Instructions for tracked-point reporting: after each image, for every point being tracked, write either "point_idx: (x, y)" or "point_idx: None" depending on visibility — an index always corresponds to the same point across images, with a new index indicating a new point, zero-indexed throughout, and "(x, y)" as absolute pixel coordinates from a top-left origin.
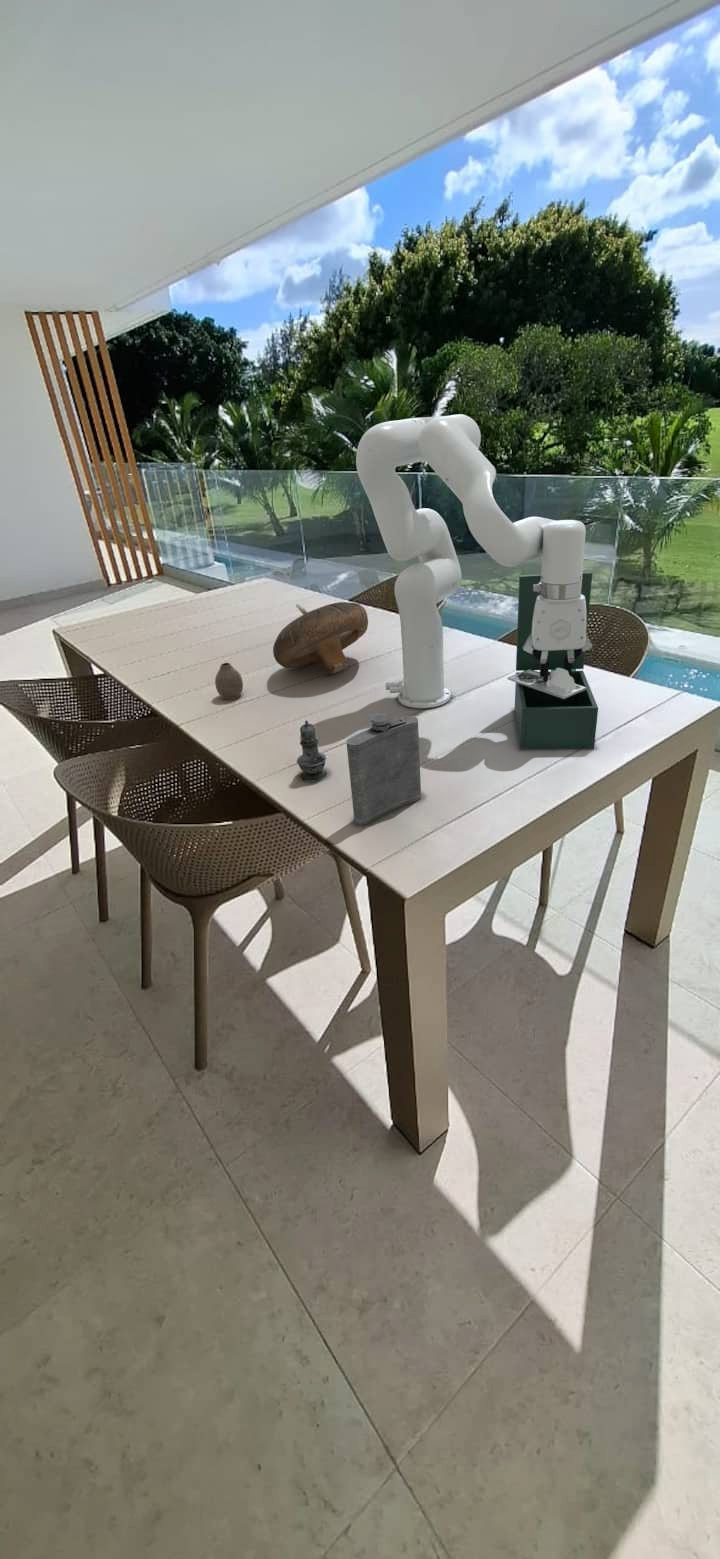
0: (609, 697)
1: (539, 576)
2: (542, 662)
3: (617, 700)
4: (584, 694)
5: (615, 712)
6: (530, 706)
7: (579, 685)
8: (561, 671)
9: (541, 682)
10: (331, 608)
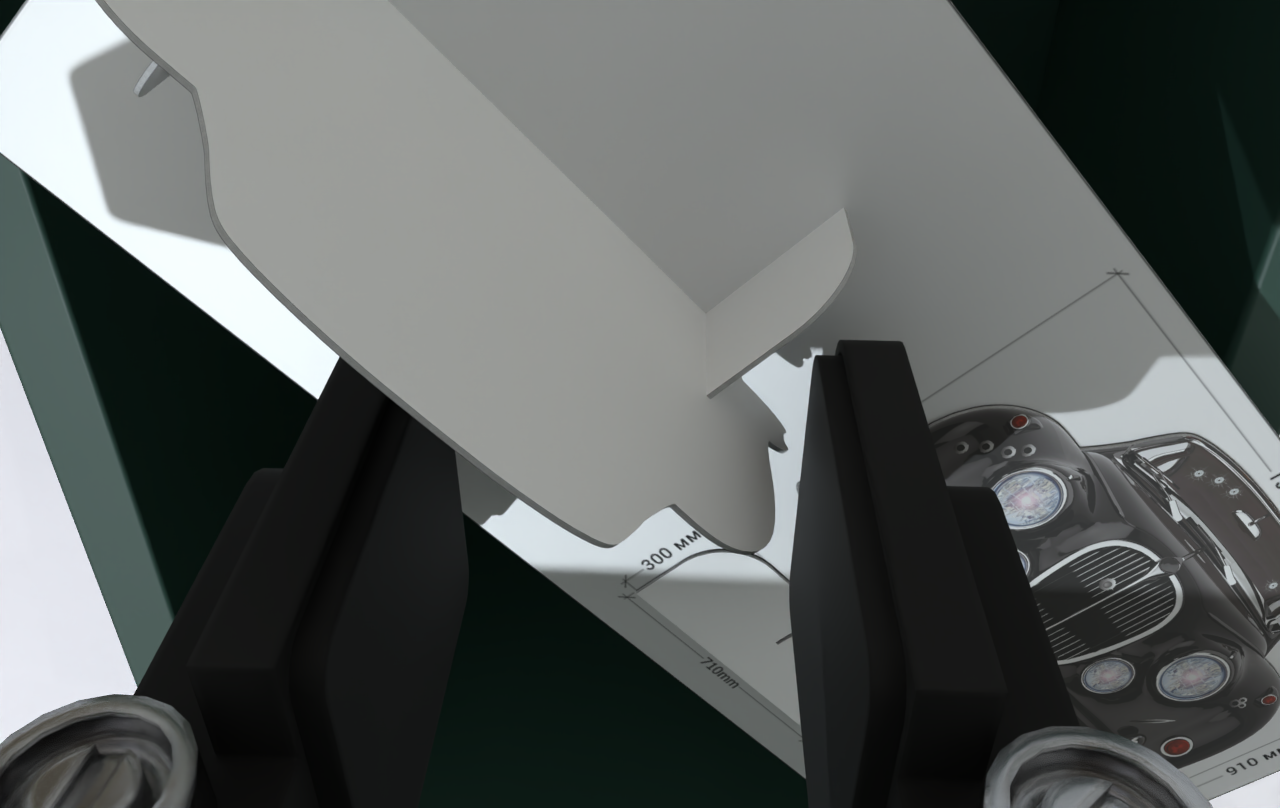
0: (101, 662)
1: None
2: (1100, 782)
3: (26, 612)
4: (158, 316)
5: (4, 403)
6: None
7: (115, 227)
8: (470, 378)
9: None
10: None
